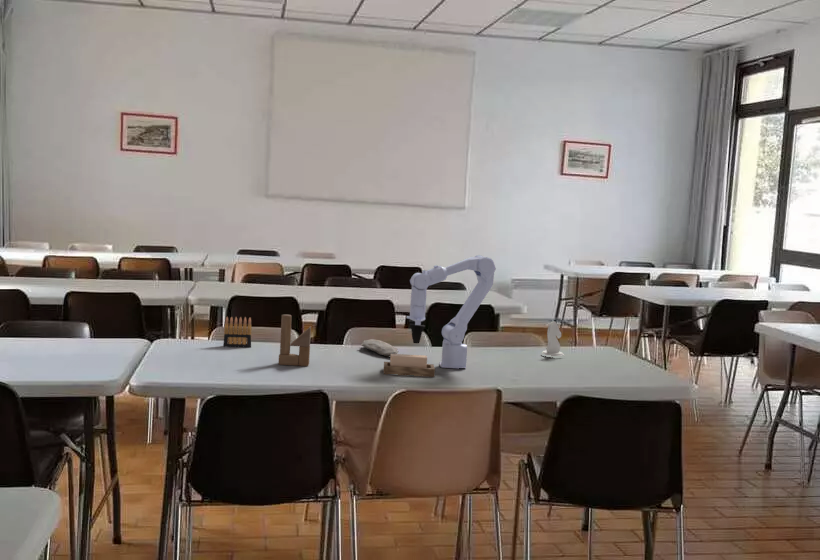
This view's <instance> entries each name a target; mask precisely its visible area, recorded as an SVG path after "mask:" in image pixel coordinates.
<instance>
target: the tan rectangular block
mask: <svg viewBox="0 0 820 560" xmlns="http://www.w3.org/2000/svg"><path fill="white" fill-rule="evenodd" d="M389 357H390V360H389V362H390V366H399V367H417V368H427V364H428V355H422V354H421V355H419V354H404V353H397V354H391V356H389Z"/></svg>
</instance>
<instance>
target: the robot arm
mask: <svg viewBox="0 0 820 560" xmlns="http://www.w3.org/2000/svg"><path fill="white" fill-rule="evenodd" d="M496 269H497V268H496V264H495V262H494V260H493V259H492V258H491V257H488V256H484V255H480V254H478V255H475V256H470V257H467V258H465V259H463V260H460V261H457V262H455V263H452V264H450V265H447V266H445V267H444V266H442V265H437V264H436V265H433V267H432V268H430V269H427V270H425V269H423V270H422V271H421V272H415V273H414V274H413V275H412V276H411V278H410V279H409V283H410V286H411V291H410V292H411V293H410V294H411V295H410V305H409V315H407V316H406V319H408V322H409V327H410V330H411V331H410V332H411V338H412V339H411V340H412V343H413V344H420V341H421V339H422V338H421V337H422V333H423V331H424V329H425V328H426V325H424V323H425V320H426V307H427V292H428V291H427V289H428V287H429V286H432V285H435V284H438V283H441V282H444V281H446V279H447V278H448V276H451V275H454V274H457V273H460V272H463V271H467V270H470V271H473V272H474V273H475V276H476V279H477V283H476V285H475V286H474V288H473V290H472V291H471V293H470V294H469V296H468V297H467V298H466V300H465V301H464V303H463V305H462V306H461V307H460V309H459V311H458V312H457V314H456V315H455V316H454V317H453V318H452V319H450V321H449V322H448V323H447V324H445V325H443V327H442V328H441V335H442V337H443V341H442V345H441V346H442V347H441V349H442V350H441V360H440V362H439V366H440V368H445V369H459V368H466V369H467V363H468V362H467V360H468V359H467V356H468V345H467V344H465V343H463V341H464V338H465V334H466V332H467V330H468V324H469V323H470V320H471V319H472V318H473V316H474V314H476V312H477V310H478V308H479V307H480V305H481V304H482V302H483V301H484V299H485V298H486V296H487V295H488V293H489V291H490V290H491V289H492V287H493V285H494V279H495V277H494V276H495V271H496Z"/></svg>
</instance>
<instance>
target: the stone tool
mask: <svg viewBox="0 0 820 560" xmlns="http://www.w3.org/2000/svg"><path fill="white" fill-rule="evenodd" d="M360 346H362V347H363V348H365V349H366V350H369V351H373V352H375V353H377V354H378V355H381V356H383V355H384V357H390V356H391V354H399V351H398V348H396V347H395V346H393V345H391V344H390V343H388V342H385V341H383V340H379V339H375V338H371V339H364V340H363V342H362V343H361V344H360Z"/></svg>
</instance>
